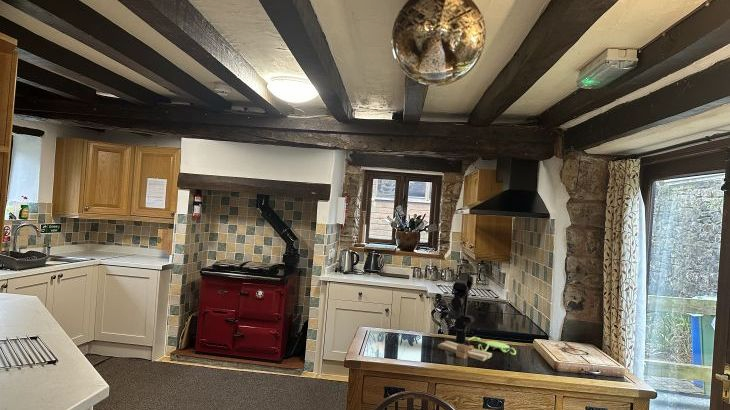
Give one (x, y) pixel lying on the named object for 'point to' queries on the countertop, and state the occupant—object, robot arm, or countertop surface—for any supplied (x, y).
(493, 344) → the figurine
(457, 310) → the robot arm
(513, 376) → the countertop surface
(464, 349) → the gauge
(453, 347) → the board
